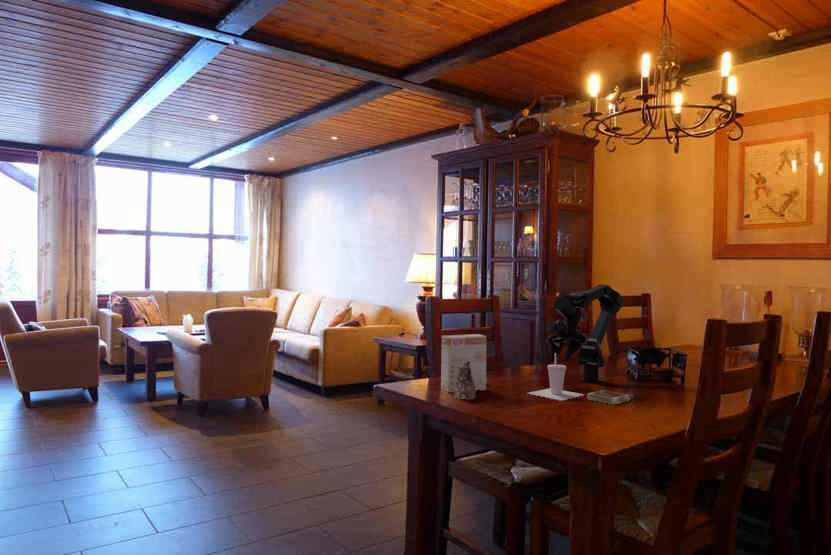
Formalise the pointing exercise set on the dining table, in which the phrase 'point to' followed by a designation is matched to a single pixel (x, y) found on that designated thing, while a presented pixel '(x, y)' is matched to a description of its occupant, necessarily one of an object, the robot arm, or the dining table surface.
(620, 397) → the holder
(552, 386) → the smoothie
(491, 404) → the dining table surface
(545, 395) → the mat
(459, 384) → the figurine
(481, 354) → the coffeecake box
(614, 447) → the dining table surface
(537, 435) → the dining table surface
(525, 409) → the dining table surface
